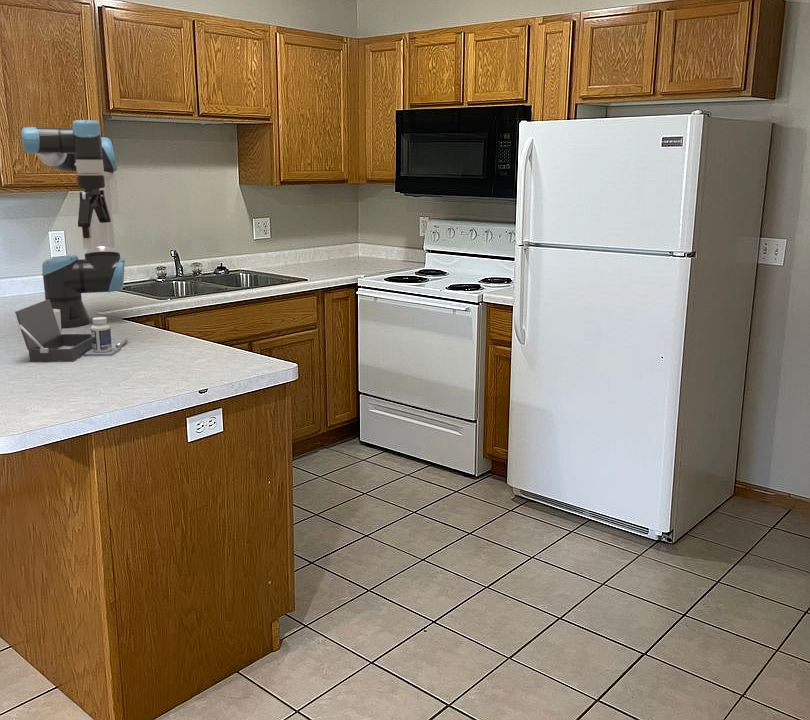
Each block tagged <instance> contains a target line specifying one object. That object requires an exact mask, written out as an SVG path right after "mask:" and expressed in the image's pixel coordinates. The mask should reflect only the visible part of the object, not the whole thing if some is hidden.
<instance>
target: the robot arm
mask: <svg viewBox="0 0 810 720" xmlns="http://www.w3.org/2000/svg"><path fill="white" fill-rule="evenodd" d="M101 133H102V132H101V126H100V122H98V120H95V119H94V120H89V119H78V120H77V119H76V120H73V121H72V127H37V126H36V127H35V126H29V127H23V128H22V129H21V144H22V149H23V152H25V153H26V154H33V155H37V158H38V159H39V161H40V162H41V163H43V164H44V165H45V166H47V167H49V168H53V169H55V170H59V171H64V172H76V173H77V176H76V179H77V187H78V188H79V189H83V191H80V192H79V207H78V218H77V219H78V220H77V228H81V234H82V235H81V236H82V245H83V247H82V248H83V250H87V251H86V252H85V253H84V259H79V257H78V255H75V254H74V255H73V254H72V255H64V256H58V257H54V258H49V259H46V260H44V261H43V262H42V265H41V267H42V274H41V276H42V281H43V289H44V291H43V292H44V301H45V300H48V299H50V302H51V305H52V308H53V309H59V310H60V312H61V329H64V328H74V327H80V326H85V325H87V324H89V323H90V317H89V316H90V315H89V314H88V312H87V310H86V307H85V305H84V303H83V299H82V294H92V293H112V292H113V293H114V292H120V291H122V290H123V288H124V280H125V265H126V264H125V261H126V259H125V258H124V257H122V256H121V253H120V251H118V250H117V249H116V247H115V232H114V223H113V222H114V221H113V220H114V219H113V211H112V210H113V209H112V208H113V207H112V197H111V196H112V195H111V184H110V181H111V180H112V179H113V178H114V172H115V173H116V172H117V171H118V165H117V161H116V156H115V150H114V147H113V142H112V139H110V138H108V137H102V136H101V135H102V134H101Z"/></svg>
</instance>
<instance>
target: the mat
mask: <svg viewBox="0 0 810 720" xmlns="http://www.w3.org/2000/svg"><path fill="white" fill-rule="evenodd" d="M121 350H122V349H121V347H120V348H116V347H112V350H111V351H108V352H94V351H93V349H91V350H90V351H88V352H86V353H85V354H84V355H83V357H112V356H113V355H116V354H117V353H118V352H120V351H121Z"/></svg>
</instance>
